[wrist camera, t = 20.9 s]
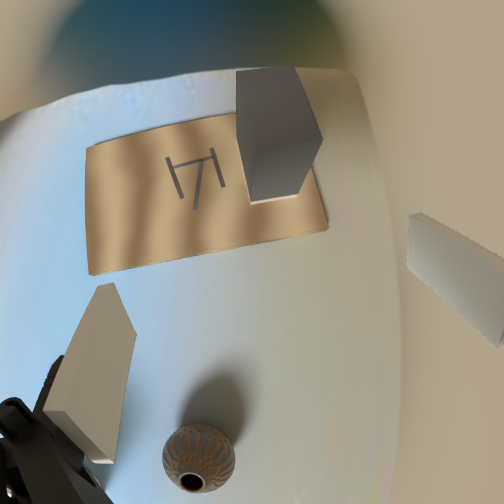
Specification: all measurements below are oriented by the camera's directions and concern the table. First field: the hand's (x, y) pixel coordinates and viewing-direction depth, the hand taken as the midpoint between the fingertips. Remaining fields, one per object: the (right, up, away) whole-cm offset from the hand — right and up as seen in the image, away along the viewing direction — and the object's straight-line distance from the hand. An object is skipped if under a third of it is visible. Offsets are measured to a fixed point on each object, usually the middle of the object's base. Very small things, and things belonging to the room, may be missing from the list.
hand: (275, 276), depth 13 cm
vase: (-6, -19, +15) cm, 25 cm away
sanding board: (-7, +8, +21) cm, 24 cm away
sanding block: (+1, +10, +20) cm, 23 cm away
